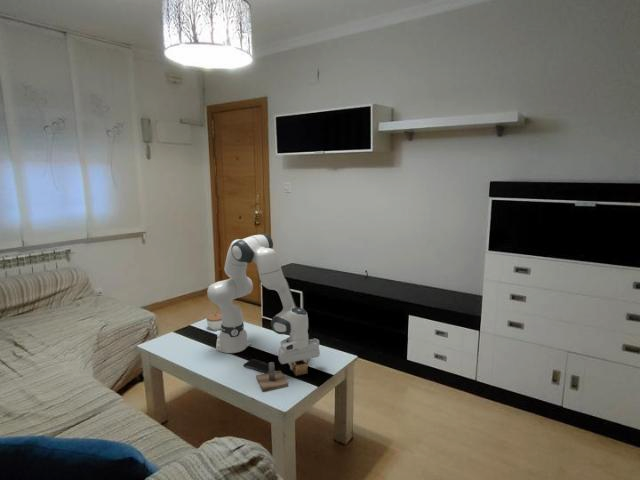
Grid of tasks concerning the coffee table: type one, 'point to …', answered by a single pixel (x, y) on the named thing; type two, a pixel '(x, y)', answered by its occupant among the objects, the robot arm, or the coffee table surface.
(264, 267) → the robot arm
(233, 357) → the coffee table surface
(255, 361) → the phone
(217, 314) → the lidded jar
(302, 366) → the wooden square sleeve
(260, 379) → the post stand
